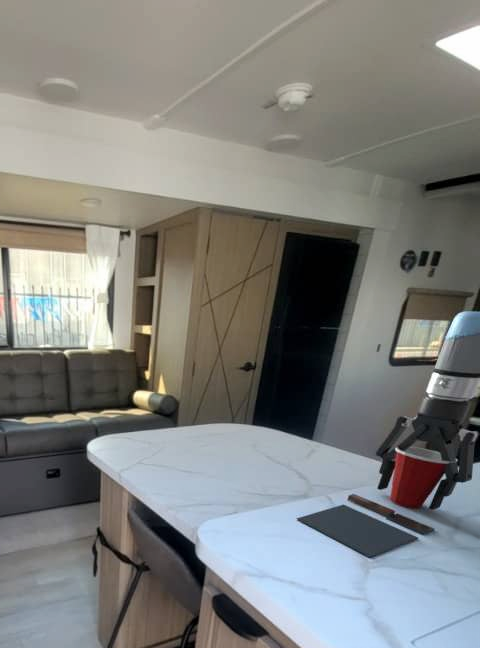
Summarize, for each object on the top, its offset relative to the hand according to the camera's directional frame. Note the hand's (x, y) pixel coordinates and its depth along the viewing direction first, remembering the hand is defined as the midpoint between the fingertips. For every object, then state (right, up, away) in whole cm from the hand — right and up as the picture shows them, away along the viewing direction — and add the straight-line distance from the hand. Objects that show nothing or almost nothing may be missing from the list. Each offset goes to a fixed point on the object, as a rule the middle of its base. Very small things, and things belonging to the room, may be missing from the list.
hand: (406, 497), depth 90 cm
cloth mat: (-18, -6, -11) cm, 22 cm away
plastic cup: (0, -1, +1) cm, 1 cm away
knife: (-8, -4, -5) cm, 10 cm away
